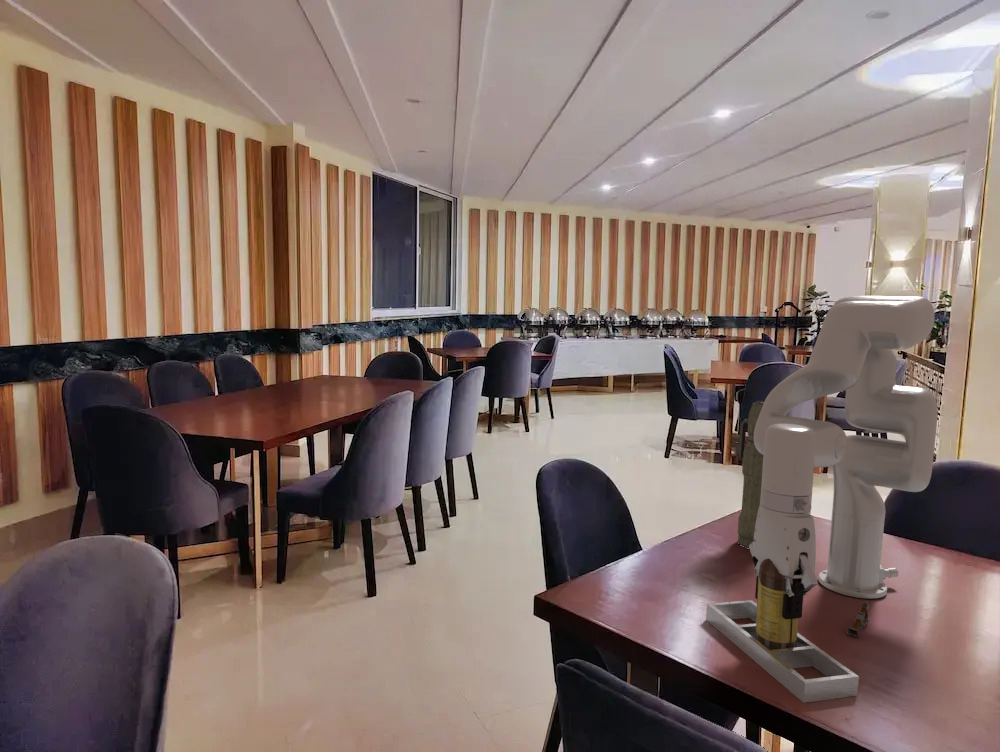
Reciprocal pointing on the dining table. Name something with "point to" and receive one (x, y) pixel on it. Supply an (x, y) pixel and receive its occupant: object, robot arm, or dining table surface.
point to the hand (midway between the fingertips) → (777, 607)
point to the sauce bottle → (773, 610)
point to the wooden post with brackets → (859, 620)
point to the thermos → (750, 477)
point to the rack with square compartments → (784, 656)
